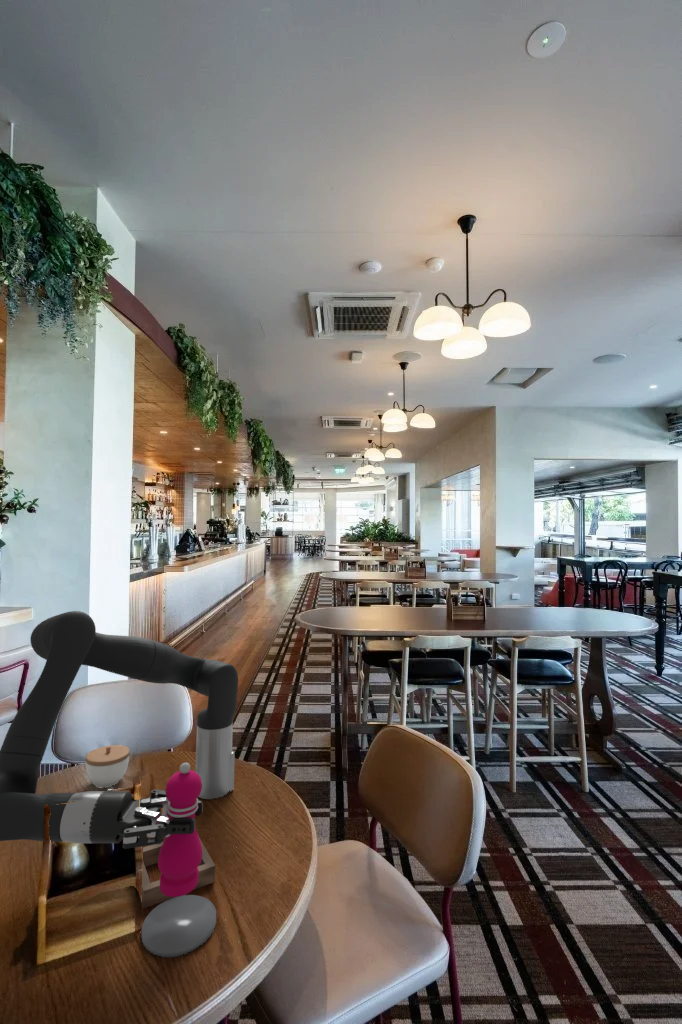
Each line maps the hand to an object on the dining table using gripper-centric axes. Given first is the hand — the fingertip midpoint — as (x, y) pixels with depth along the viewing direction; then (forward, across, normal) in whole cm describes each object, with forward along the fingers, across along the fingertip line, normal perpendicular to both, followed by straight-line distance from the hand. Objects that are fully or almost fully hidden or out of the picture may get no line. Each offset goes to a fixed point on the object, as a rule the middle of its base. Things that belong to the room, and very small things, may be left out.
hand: (198, 816), depth 83 cm
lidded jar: (-36, +50, +19) cm, 64 cm away
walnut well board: (-8, +13, +18) cm, 24 cm away
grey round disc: (-2, 0, +18) cm, 18 cm away
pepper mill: (-3, 0, +11) cm, 12 cm away
